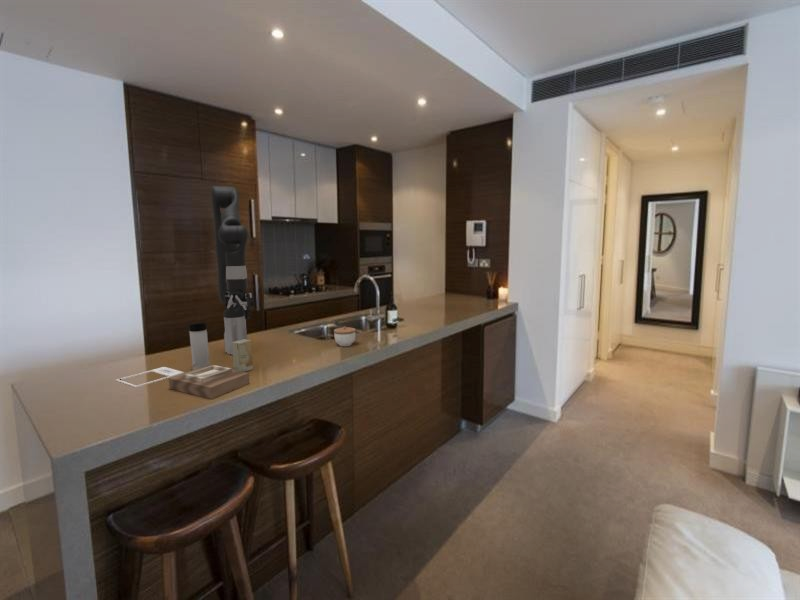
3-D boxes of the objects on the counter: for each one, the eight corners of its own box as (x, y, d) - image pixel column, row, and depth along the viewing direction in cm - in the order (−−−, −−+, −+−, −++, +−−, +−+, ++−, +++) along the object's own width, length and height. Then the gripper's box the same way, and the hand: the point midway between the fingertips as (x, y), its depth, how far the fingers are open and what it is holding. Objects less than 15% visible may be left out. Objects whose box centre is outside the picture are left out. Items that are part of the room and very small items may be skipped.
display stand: (169, 388, 143) (168, 374, 142) (208, 375, 157) (207, 361, 156) (211, 399, 133) (210, 383, 132) (249, 383, 147) (248, 369, 147)
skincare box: (240, 373, 159) (238, 343, 157) (233, 371, 161) (230, 342, 159) (253, 368, 164) (251, 339, 162) (246, 367, 166) (244, 338, 164)
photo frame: (184, 371, 160) (135, 386, 145) (184, 374, 160) (135, 389, 145) (163, 366, 167) (115, 379, 152) (164, 368, 168) (115, 382, 152)
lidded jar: (354, 347, 194) (354, 328, 193) (332, 347, 195) (331, 328, 193) (357, 342, 205) (356, 324, 204) (336, 342, 205) (335, 324, 204)
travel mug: (193, 373, 159) (188, 324, 156) (193, 369, 165) (188, 321, 162) (210, 371, 162) (206, 322, 159) (209, 366, 168) (205, 319, 165)
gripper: (216, 277, 157) (219, 318, 159) (242, 278, 150) (245, 321, 153) (231, 276, 163) (234, 315, 166) (257, 277, 157) (260, 317, 159)
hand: (239, 318), depth 159 cm, fingers open, 8 cm apart
